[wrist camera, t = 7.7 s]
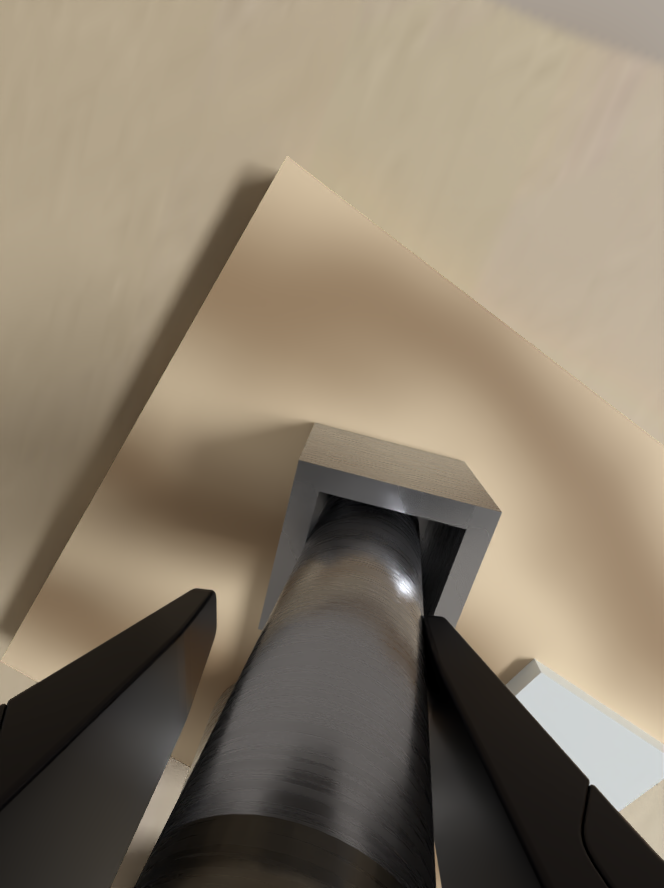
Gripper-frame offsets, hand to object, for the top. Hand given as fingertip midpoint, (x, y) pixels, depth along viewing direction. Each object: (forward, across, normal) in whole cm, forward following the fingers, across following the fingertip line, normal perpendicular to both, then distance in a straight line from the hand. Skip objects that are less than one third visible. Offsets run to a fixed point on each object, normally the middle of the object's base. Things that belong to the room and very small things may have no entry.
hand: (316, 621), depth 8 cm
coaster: (+6, -8, +10) cm, 14 cm away
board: (+7, -2, +5) cm, 9 cm away
